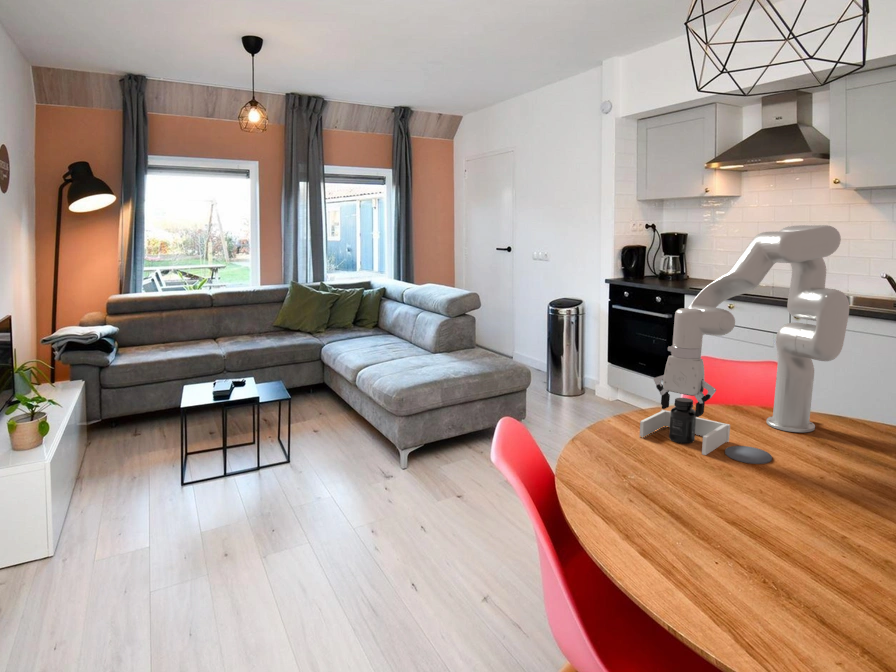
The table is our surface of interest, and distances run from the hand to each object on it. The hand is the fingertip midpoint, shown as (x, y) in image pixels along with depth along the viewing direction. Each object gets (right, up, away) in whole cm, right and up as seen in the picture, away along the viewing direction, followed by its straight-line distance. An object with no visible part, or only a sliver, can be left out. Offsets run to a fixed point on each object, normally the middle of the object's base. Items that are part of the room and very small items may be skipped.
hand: (681, 411), depth 160 cm
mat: (+13, -10, -10) cm, 20 cm away
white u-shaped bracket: (+1, -8, +2) cm, 8 cm away
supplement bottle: (+1, -9, +2) cm, 9 cm away
